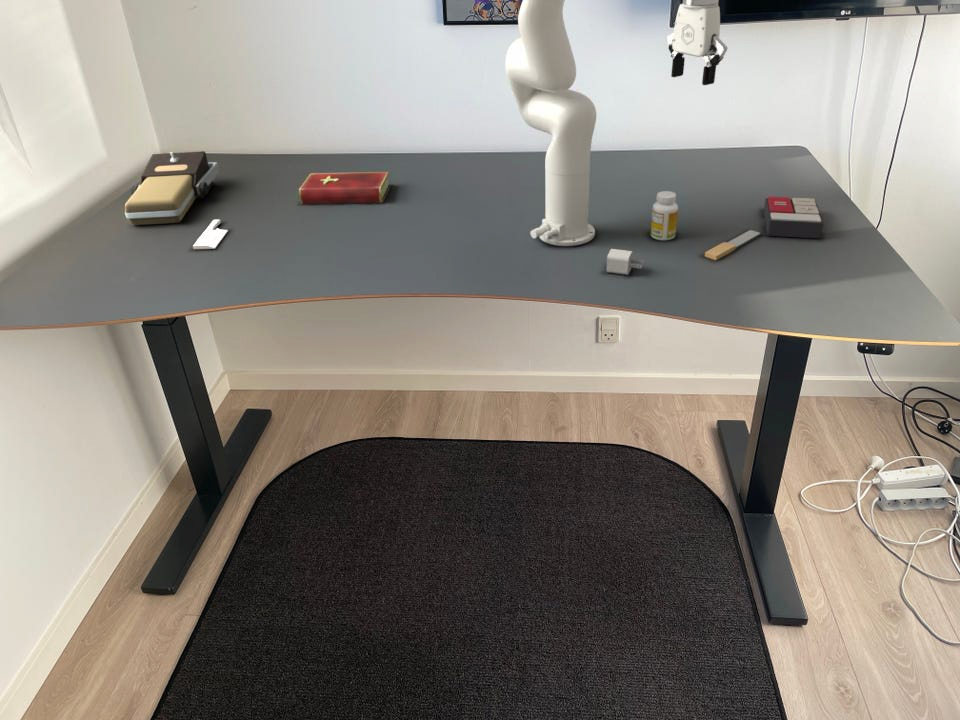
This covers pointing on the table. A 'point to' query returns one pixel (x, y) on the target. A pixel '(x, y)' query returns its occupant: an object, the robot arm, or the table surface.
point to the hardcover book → (344, 188)
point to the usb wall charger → (621, 262)
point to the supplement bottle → (664, 216)
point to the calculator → (792, 217)
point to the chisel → (731, 245)
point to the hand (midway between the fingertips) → (692, 80)
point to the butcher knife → (210, 237)
